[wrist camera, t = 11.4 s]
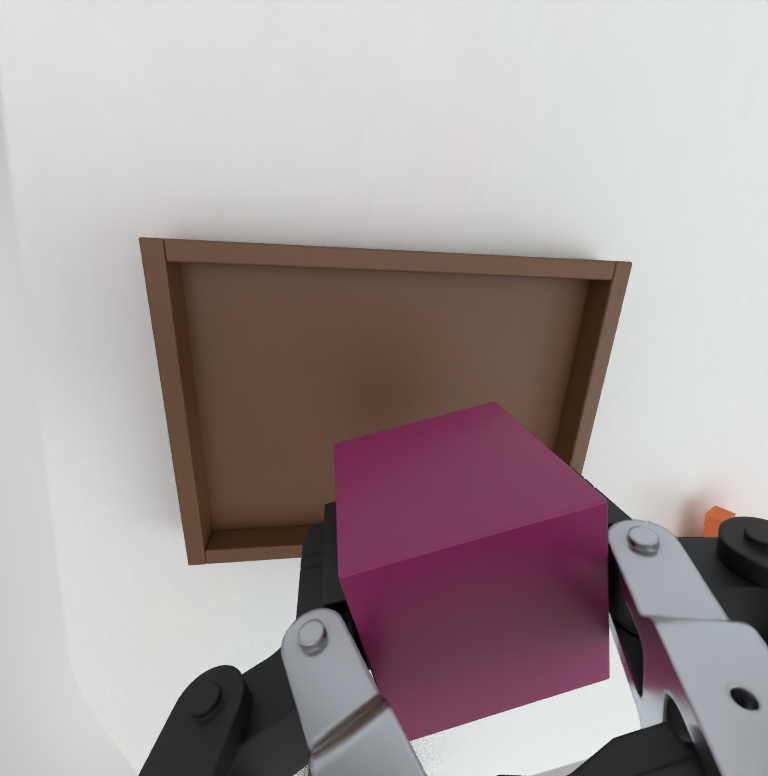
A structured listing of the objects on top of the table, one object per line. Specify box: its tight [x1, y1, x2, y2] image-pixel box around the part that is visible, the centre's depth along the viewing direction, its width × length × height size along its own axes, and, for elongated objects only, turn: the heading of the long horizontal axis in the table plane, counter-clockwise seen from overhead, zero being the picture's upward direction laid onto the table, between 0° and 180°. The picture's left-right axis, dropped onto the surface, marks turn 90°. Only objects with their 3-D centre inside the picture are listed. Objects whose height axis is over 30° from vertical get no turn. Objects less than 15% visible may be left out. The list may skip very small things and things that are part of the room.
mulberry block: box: [334, 402, 610, 741], centre depth 10 cm, size 5×5×5 cm
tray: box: [139, 237, 632, 565], centre depth 18 cm, size 20×15×2 cm
